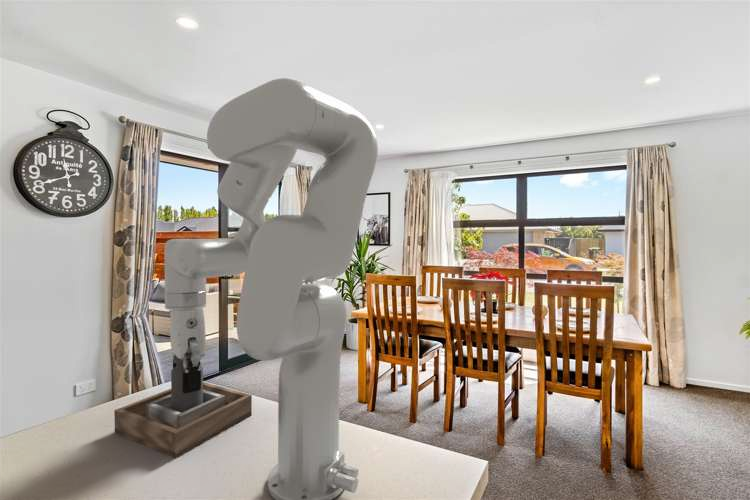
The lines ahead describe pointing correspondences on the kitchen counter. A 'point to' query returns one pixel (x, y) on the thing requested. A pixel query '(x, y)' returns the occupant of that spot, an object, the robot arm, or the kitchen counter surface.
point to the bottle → (178, 398)
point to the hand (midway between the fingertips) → (186, 383)
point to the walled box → (182, 419)
